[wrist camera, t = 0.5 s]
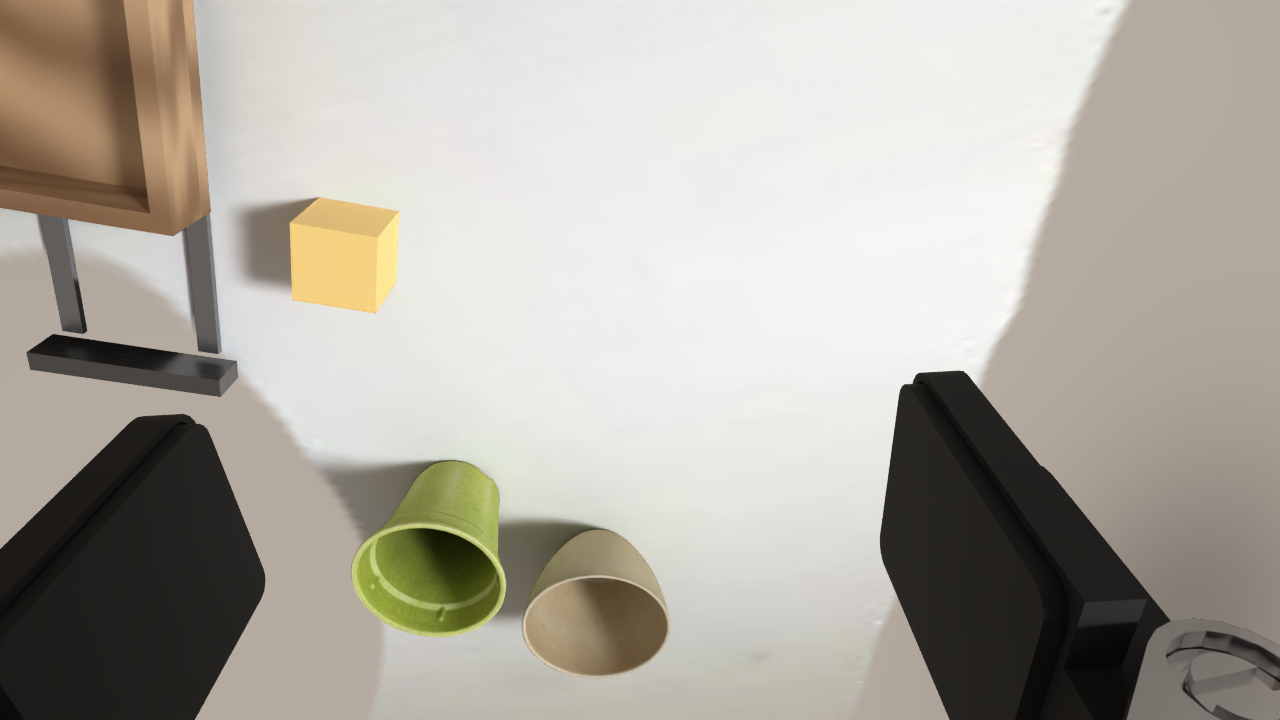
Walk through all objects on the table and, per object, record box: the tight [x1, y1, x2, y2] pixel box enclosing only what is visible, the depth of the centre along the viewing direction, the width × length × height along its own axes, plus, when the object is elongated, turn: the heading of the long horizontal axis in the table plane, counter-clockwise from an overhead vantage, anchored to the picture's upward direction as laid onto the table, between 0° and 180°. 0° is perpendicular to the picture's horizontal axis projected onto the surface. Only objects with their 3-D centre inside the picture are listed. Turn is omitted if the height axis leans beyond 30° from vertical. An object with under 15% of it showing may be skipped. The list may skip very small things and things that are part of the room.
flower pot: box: [522, 529, 670, 678], centre depth 54 cm, size 10×10×7 cm
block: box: [290, 197, 399, 313], centre depth 43 cm, size 4×4×4 cm
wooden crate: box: [0, 0, 211, 236], centre depth 35 cm, size 16×11×8 cm
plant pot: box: [351, 461, 506, 637], centre depth 50 cm, size 9×9×9 cm
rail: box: [27, 212, 238, 397], centre depth 40 cm, size 28×11×2 cm, turn 169°
